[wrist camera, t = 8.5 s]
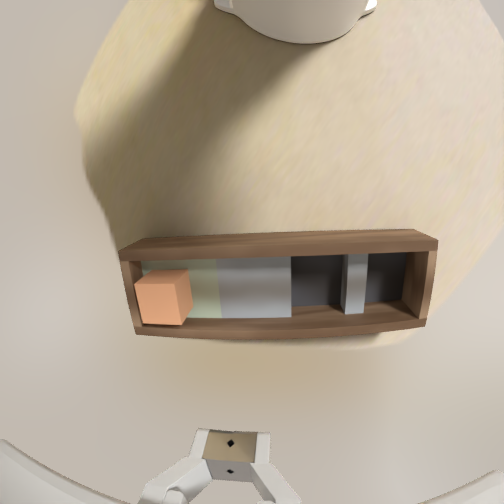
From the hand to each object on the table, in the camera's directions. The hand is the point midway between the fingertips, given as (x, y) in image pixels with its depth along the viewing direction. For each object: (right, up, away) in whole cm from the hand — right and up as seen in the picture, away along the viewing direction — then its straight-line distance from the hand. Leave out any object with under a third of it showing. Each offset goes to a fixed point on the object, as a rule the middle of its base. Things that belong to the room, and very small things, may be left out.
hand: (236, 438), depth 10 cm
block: (-7, +4, +18) cm, 20 cm away
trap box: (+4, +5, +20) cm, 21 cm away
